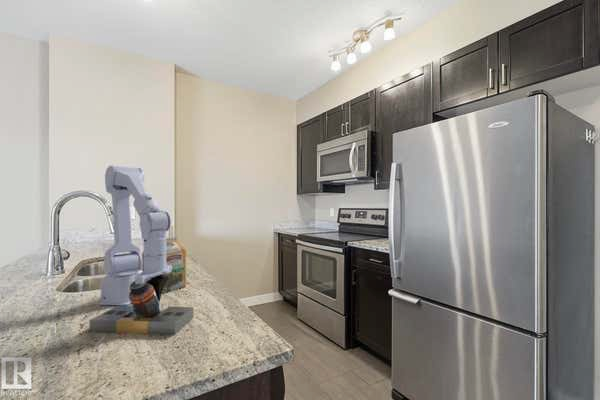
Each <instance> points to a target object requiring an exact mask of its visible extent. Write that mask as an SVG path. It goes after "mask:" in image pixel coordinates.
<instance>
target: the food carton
mask: <svg viewBox="0 0 600 400" xmlns="http://www.w3.org/2000/svg"><path fill="white" fill-rule="evenodd" d="M186 252H187V251H186V249H185V247H184V246H183V245H182V244H181V243H180V242H179V241H178V237H177V236H173V237H166V265H172V271H171V272H170V273H167V274H163V276H168V280H167V281H166V283H165V285H164V288H163V291H162V295H165V294H164V293H166V294H169V293H172V292H174V291H175V290H176V291H178V289H179V290H181V289H186V287H187V284H186V283H187V282H186V281H187V280H186V279H187V277H186V276H187V275H186V272H187V271H186V270H187V269H186V268H187V267H186V266H187V265H186V264H187V262H186V261H187V255H186V254H187V253H186ZM142 259H143V264H142V272H143V271H144V250H143V251H142ZM142 272H141V273H142ZM171 291H172V292H171ZM176 291H175V292H176ZM168 292H169V293H168Z"/></svg>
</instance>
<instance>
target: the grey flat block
mask: <svg viewBox="0 0 600 400" xmlns="http://www.w3.org/2000/svg"><path fill="white" fill-rule="evenodd" d="M193 319H194V307H193V306H168V307H167V308H165V309H164V310H162V311H161V313H159V314H158V315H156V316H155V317H153V318H137V317H136V314H135V312H134V309H133V307H132V305H115V306H114V307H113V308H110V309H108V310H107V311H105V312H103V313H100V314H98V315H97V316H95V317H92V318H90V319H89V331H88V332H89V333H107V334H109V333H110V334H140V335H141V334H142V335H143V334H145V335H147V334H148V335H176V334H178V332H180V331H181V330H182V329H183V328H184V327H186V325H187V324H189V322H190V321H191V320H193Z"/></svg>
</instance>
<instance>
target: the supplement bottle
mask: <svg viewBox="0 0 600 400" xmlns="http://www.w3.org/2000/svg"><path fill="white" fill-rule="evenodd" d="M130 290H131V292H130V293H129V299H130V302H131V303H130V304H131V306H132V307H133V309H134V312H135V314H136V317H137V318H153V317H155V316H156V315H158V314H159V313H161V312H162V311H163V310H162V308H161V305H160V302H159V301H158V298H157V296H156V293H155V290H154V287H153V286H152V285H151V284H148V283H147V280H146V279H145V282H144V283H143V284H135V281H134V282H132V283H131V284H130Z"/></svg>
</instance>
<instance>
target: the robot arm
mask: <svg viewBox="0 0 600 400" xmlns="http://www.w3.org/2000/svg"><path fill="white" fill-rule="evenodd" d="M104 179H105V182H104V183H105V191H106V193H107V194H110V195H111V201H112V217H113V219H112V221H113V237H114V238H113V239H114V244H113V245H112V246H111V247H110V248H108V249H107V250H106V251H105V252H104V260H103V270H104V273H105V274H106V275H105V276H104V277H103V278H102V280H101V282H100V302H98V305H99V306H100V305H101V306H129V305H130V304H131V302H130V299H129V293H130V292H131V290H130V284H131V283H132V282H134V281H135V284H143V283H144V282H145V279H146V280H147V283H148V284H151V285H152V286H153V287H154V290H155V293H156V296H157V298H158V301H159V303H160V302H161V301H160V300H161V299H162V298H161V297H162V295H163V294H162V291H163V288H164V285H165V283H166V281H167V280H168V276H163V274H167V273H170V272H171V271H172V265H166V238H167V232H168V231H169V230H170V228H171V223H172V222H171V217H170V215H169V212H168V211H165V210H164V209H161V208H160V206H159V204H158V203H157V201H156V199H155V198H154V196H153V195H151V194H148V192H147V189H146V188H145V185H144V182H145V172H144V170H143V168H141V167H128V166H127V167H126V166H117V165H116V166H114V165H109V166H108V167H107V168H106V170H105V175H104ZM131 196H133V198H134V200H133V206H134V209H135V211H136V212H137V215H138V216H139V228H140V232H141V239H143V251H144V271H143V272H141V273H140V274H139V271H140V270H141V268H143V255H142V252H141V248H140V246H137V245H136V244H133V239H132V238H133V237H132V221H131V206H130V197H131ZM120 253H121V254H120ZM137 273H138V275H137ZM161 294H162V295H161Z"/></svg>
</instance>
